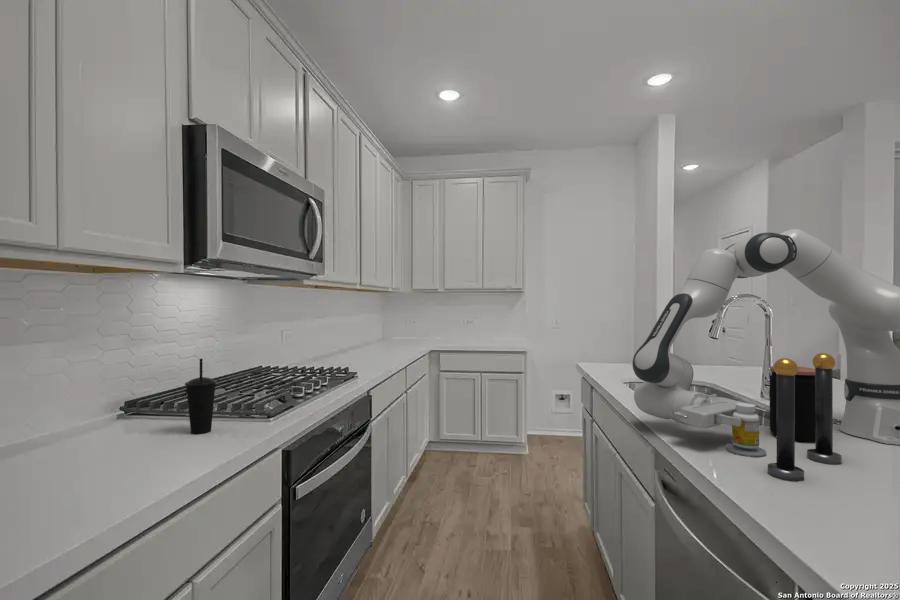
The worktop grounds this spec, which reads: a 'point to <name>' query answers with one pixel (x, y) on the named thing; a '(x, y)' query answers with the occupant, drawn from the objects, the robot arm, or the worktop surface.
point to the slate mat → (746, 451)
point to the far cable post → (824, 412)
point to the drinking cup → (200, 403)
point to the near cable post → (785, 423)
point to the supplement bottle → (746, 427)
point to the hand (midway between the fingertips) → (749, 420)
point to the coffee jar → (797, 404)
